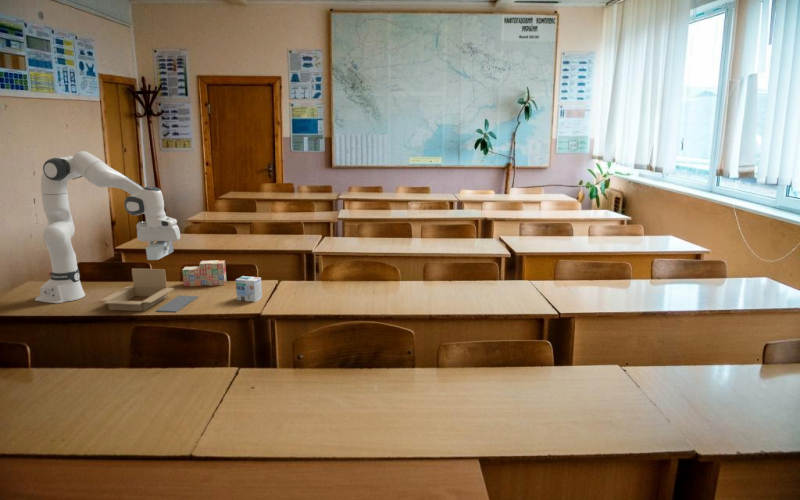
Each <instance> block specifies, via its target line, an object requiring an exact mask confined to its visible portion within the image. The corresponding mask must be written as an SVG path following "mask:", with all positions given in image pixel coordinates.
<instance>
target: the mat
mask: <svg viewBox="0 0 800 500" xmlns="http://www.w3.org/2000/svg"><path fill="white" fill-rule="evenodd" d="M198 298H199V295H178V296H176V297H175V298H173V299H172V300H170V301H168V302H167V303H165V304H163V305H162V306H161V307H159V308H157V309H156V310H155V312H156V313H177V312H179V311H180V310H183V308H185V307H186V306H188V305H190V303H192V302H193V300H194V301H196V299H198Z"/></svg>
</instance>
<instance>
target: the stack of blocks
mask: <svg viewBox="0 0 800 500" xmlns="http://www.w3.org/2000/svg"><path fill="white" fill-rule="evenodd" d="M198 265H199V266H184V267H183V268H182V270H181V272H182V281H183V286H184V287H201V285H209V286H218V285H217V284H225V282H226V283H227V281H228V280H227V269H226V267H227V266H226V260H216V259H215V260H201V261H200V263H199V264H198ZM225 285H226V284H225Z"/></svg>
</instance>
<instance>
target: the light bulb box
mask: <svg viewBox="0 0 800 500" xmlns="http://www.w3.org/2000/svg"><path fill="white" fill-rule="evenodd" d="M235 287H236V288H235V290H236V292H235V293H236V300H237V301H241V300H245V301H244V302H250V301H251V302H252V303H256V302H258V301H260V300H261V298H262V299H263V291H262V290H263V289H262V288H263V287H262V277H258V276H247V275H246V276H245V275H242V276H240V277H238V278H236V279H235Z"/></svg>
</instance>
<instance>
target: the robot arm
mask: <svg viewBox="0 0 800 500" xmlns="http://www.w3.org/2000/svg"><path fill="white" fill-rule="evenodd" d="M42 171H43V173H41V179H40V192H41V198H42V199H41V200H42V208H43V212H44V213H45V217H46V220H47V223H48V224H47V225H48V226H46V227H45V228H44V230H43V232H42V233H43V234H42V239H43V241H44V243H45V246H46V249H47V251H48V254H49V258H50V264H51V265H50V266H51V270H52V271H51V272H49V273H48V274H47V276H48V277H50V278H49V279H48V280H47V282H45V283H44V284H42V286H40V289H39V295H38V296H37V297H35V300H34V301H35V302H43V303H48V304H49V303H50V304H62V303H65V302H72V301H75V300H76V301H77V300H80V299H82V298H84V297H85V296H86V293H85V291H84V289H83V285H82V282H81V280H80V279H81V274H80V269H79V267H78V260H77V254H76V252H75V250H74V248H73V243H72V238H73V237H74V235H75V231H76V226H75V224H74V220H73V215H72V212H71V208H70V200H69V198H70V197H69V191H68V182H69V181H70V180H76V179H79V178H80V179H81V178H82V177H83V178H84V179H86V180H87V181H88V182H89V183H91V184H92V185H94V186H96V187H99V188H114V189H115V188H116V189H120V190H123V191H124V192H126V193H128V194H129V195H128V196H127V197H126V198H125V200H124V202H123V203H124V204H123V205H124V209H125V211H126V212H127V213H128V214H129V215H131V216H141V215H143V214H144V216H145V221H138V222H137V224H136V227H135V228H136V235H137V236H136V237H137V240H138V241H139V242H148V246H150V245H152V244H154V243H155V242H157V241H166V243H167V245H166V246H165V247H164V248H165V250H169V245H170V243H171V241H172V242H177V241H179V240H180V239H181V236H182V235H181V231H180V228H179V226H178V224H177V223H178V220H177V219H176V218H173V217H170V216H167V213H166V211H165V201H164V196H163V193H162V190H161V189H160V188H159V187H156V186H145V187H144V186H142V185H141V184H139V183H138V182H136V181H135V180H134V179H132V178H130V177H128V176H127V175H125V174H124V173H121V172H120V171H118V170H116V169H114V168H112V167H111V166H109V165H108V164H107V163H105V162H104V161H103V160H101V159H100V158H98V157H97V156H95V155H93V153H90V152H88V151H86V150H81V151H78V152H76V153H75V154H74V155H64V156H60V157H59V156H58V157H52V158H49V159H47V160H46V161H45V162H44V163H43V166H42Z"/></svg>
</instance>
